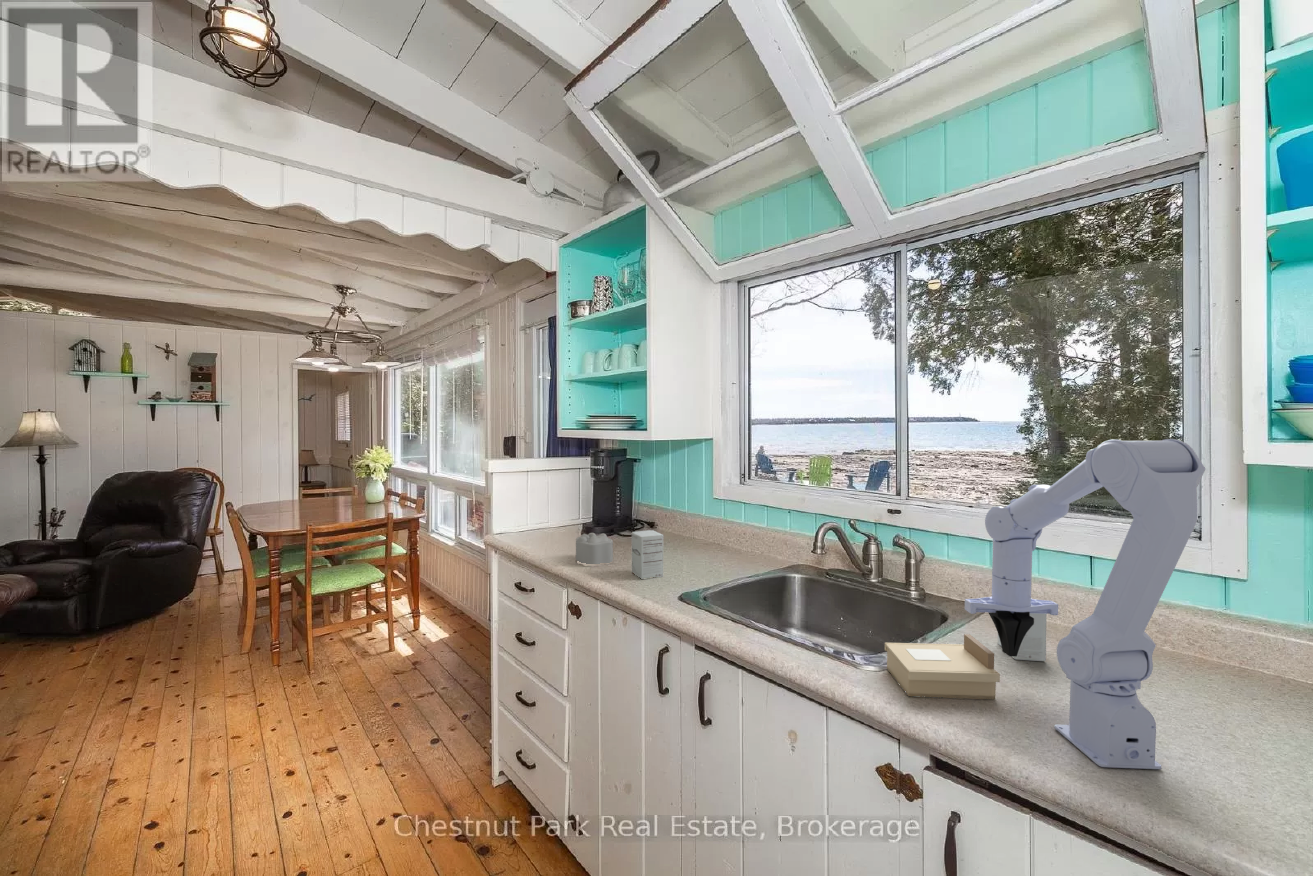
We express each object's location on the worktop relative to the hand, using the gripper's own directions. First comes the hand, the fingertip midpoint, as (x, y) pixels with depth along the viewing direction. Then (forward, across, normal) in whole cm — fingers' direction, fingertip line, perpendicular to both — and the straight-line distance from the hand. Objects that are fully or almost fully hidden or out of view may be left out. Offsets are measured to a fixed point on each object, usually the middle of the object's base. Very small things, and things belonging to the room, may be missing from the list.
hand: (1009, 653), depth 95 cm
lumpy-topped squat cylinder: (+6, +87, -77) cm, 116 cm away
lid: (+2, +12, 0) cm, 12 cm away
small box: (+6, -10, -14) cm, 18 cm away
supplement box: (+6, +68, -62) cm, 92 cm away
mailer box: (+6, +12, 0) cm, 13 cm away
